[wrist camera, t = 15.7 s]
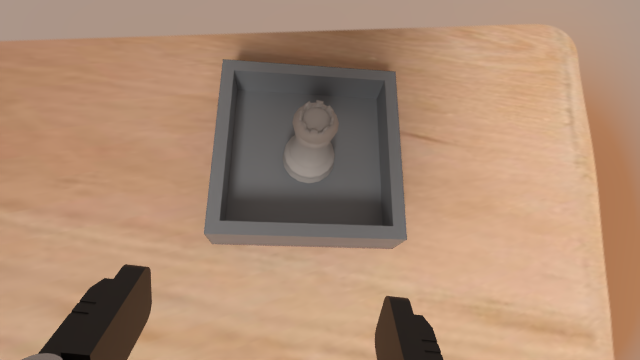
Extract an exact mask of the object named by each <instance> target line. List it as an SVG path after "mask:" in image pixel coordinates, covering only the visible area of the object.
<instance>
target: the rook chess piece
mask: <svg viewBox="0 0 640 360" xmlns="http://www.w3.org/2000/svg"><path fill="white" fill-rule="evenodd" d="M323 102H324V101H319V100H316V103H310V101H309V102H307V103H305V104H304V105H303V106H302V107H300V108H299V109H298V110H297V111H296V113H295V114H294V117H293V122H292V123H293V127H294V131H295V135H294V136H293V137H291V139H290V140H289V141H288V143H287V144H286V145H285V149H284V154H283V158H282V159H283V163H284V168H285V169H286V171H287V172H288V173H289V175H290V176H291V177H293V178H294V179H296V180H297V181H299V182H305V183H314V182H319V181H321V180H322V179H324V178H325V177H327V176H328V175H329V173H330V172H331V170H332V169H333V164H334V157H335V154H334V150H333V146H332V144H331V143H330V141H331V140H332V138H333V137H334V136H335V134H336V133H337V131H338V125H339V122H338V119H337V115H336V114H335V113H334V110H333V109H332V107H331V106H330V105H329V106H326V105H324V104H323Z"/></svg>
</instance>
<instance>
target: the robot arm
mask: <svg viewBox="0 0 640 360" xmlns="http://www.w3.org/2000/svg"><path fill="white" fill-rule="evenodd" d="M151 304H152V298H151V272H150V268H149V267H144V266H135V265H127V264H126V265H124V266H123V267H122V268H121V269H120V271H119V272H118V274H117V275H116V276H115V278H114V279H107V278H104V279H103V280H101V281H100V282H98V283H97V284H95V285H94V286H92V287H91V288H89V290H88V291H87V292H86V293H85V295H84V296H83V297H82V298H81V300H80V302H79V303H78V304H77V305H76V306H75V307H74V309H73V310H72V312H71V314H69V315H68V316H67V318H66V319H65V320H64V321H63V323H62V324H61V325H60V327H59V328H58V329H57V330H56V332H55V333H54V334H53V335H52V337H51V338H50V339H49V341H48V342H47V343H46V344H45V346H44V347H43V348H42V349H41V351H40V352H39V353H38V354H36V355H32V356H29V357H27V358H24V359H22V360H127V359H128V357H129V355H130V353H131V351H132V349H133V347H134V345H135V343H136V341H137V340H138V338H139V336H140V334H141V332H142V330H143V328H144V326H145V324H146V322H147V320H148V318H149V315H150V311H151ZM375 349H376V355H377V360H443V357H442V355H441V351H440V348H439V346H438V344H437V340H436V337H435V334H434V331H433V328H432V327H431V326H430V324H429V323H428V322H427V321H426V319H425V318H424V317H423V316H422V315H414V314H413V311H412V307H411V304H410V301H409V299H408V298H400V297H392V296H386V297H385V299H384V303H383V306H382V310H381V313H380V317H379V320H378V324H377V327H376V332H375Z"/></svg>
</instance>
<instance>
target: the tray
mask: <svg viewBox="0 0 640 360" xmlns="http://www.w3.org/2000/svg"><path fill="white" fill-rule="evenodd" d="M316 100H319V101H324V102H323V104H324V105H326V106H329V105H330V106H331V107H332V109H333V110H334V113H335V114H336V115H337V119H338V122H339V125H338V131H337V133H336V134H335V136H334V137H333V138H332V140H331V141H330V143H331V144H332V146H333V150H334V154H335V157H334V164H333V169H332V170H331V172H330V173H329V175H328V176H327V177H325V178H324V179H322V180H321V181H319V182H314V183H305V182H299V181H297V180H296V179H294V178H293V177H291V176H290V175H289V173H288V172H287V171H286V169H285V168H284V163H283V159H282V158H283V154H284V149H285V145H286V144H287V143H288V141H289V140H290V139H291V137H293V136H294V135H295V131H294V127H293V123H292V122H293V117H294V114H295V113H296V111H297V110H298V109H299V108H300V107H302V106H303V105H304V104H305V103H307V102H309V101H310V103H316ZM204 234H205V236H206V237H207V238H208V239H209V241H210V242H211V243H212V244H230V245H268V246H306V247H344V248H382V249H393V248H394V247H396V246H397V245H399V244H401V243H402V242H404V241H405V240H407V234H406V219H405V204H404V190H403V175H402V161H401V146H400V131H399V117H398V102H397V88H396V73H395V72H394V71H380V70H366V69H351V68H337V67H323V66H309V65H295V64H281V63H267V62H253V61H239V60H224V59H223V64H222V73H221V82H220V91H219V100H218V110H217V119H216V128H215V137H214V146H213V155H212V164H211V174H210V183H209V192H208V201H207V210H206V219H205V228H204Z"/></svg>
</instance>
